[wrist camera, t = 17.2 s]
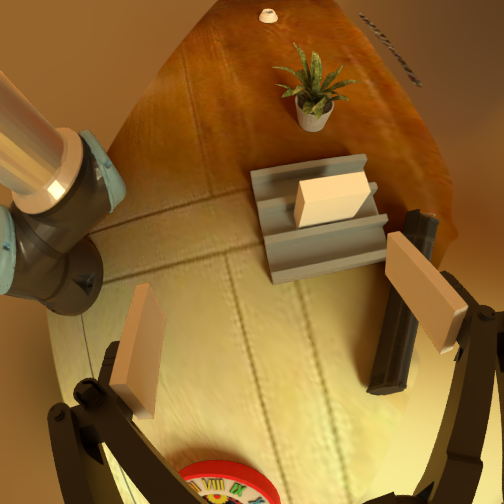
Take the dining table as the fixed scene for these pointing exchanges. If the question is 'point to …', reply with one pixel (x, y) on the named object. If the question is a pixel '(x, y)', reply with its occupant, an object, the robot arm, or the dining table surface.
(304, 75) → the house plant
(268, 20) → the upturned cream bowl
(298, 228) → the picture frame
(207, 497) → the toy clock
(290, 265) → the notched rack
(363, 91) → the dining table surface
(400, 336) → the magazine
